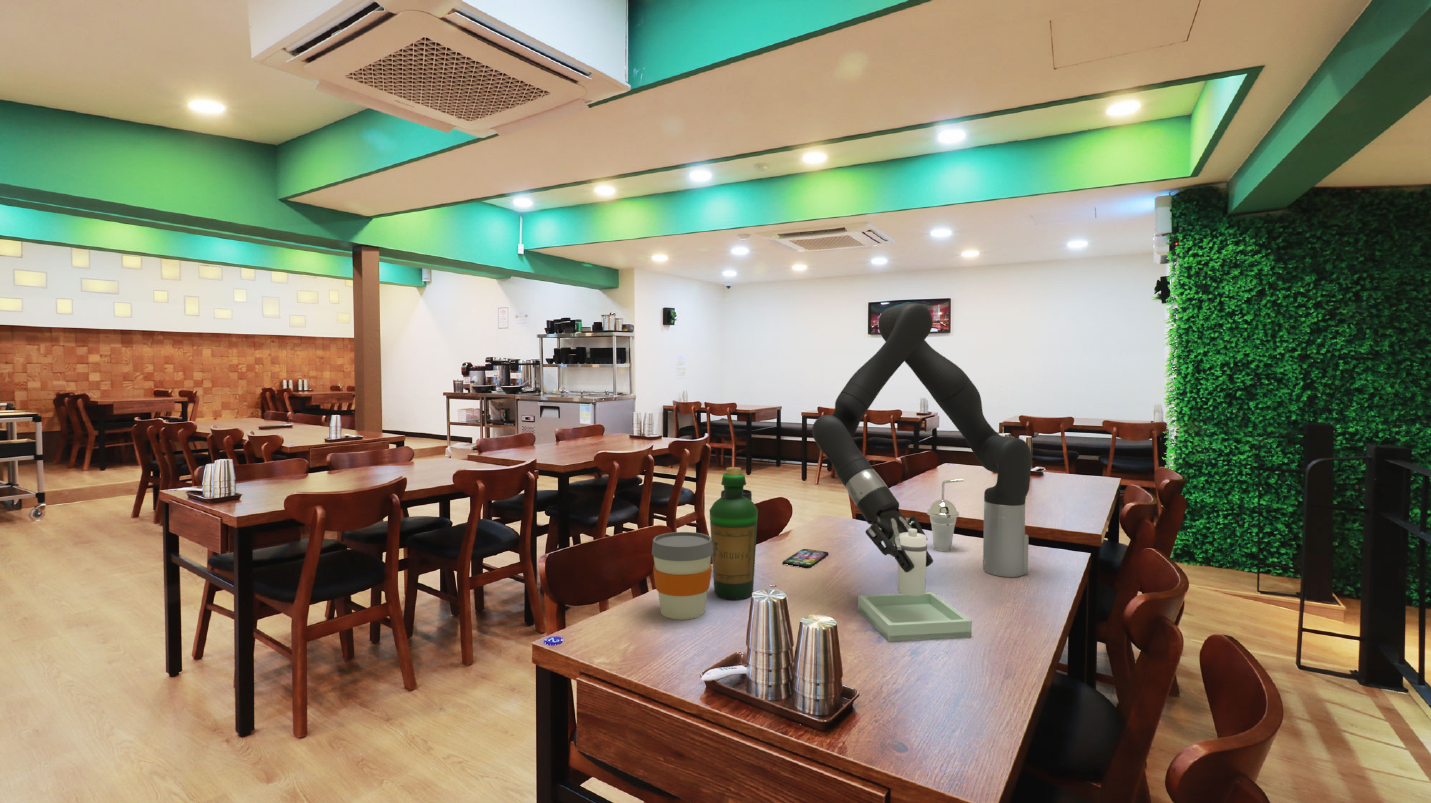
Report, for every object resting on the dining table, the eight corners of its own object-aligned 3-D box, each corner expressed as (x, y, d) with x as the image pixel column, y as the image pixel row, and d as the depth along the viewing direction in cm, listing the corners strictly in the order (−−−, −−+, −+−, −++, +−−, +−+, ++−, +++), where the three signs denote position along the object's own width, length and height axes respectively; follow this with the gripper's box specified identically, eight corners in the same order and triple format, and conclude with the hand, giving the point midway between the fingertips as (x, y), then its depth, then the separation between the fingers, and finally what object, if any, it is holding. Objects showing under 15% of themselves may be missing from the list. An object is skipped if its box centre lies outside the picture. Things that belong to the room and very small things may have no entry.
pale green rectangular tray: (932, 606, 137) (932, 592, 136) (971, 636, 121) (971, 621, 121) (858, 609, 135) (858, 595, 134) (888, 641, 119) (888, 625, 119)
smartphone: (780, 562, 166) (803, 548, 179) (780, 565, 167) (802, 551, 180) (809, 566, 163) (830, 552, 176) (809, 570, 163) (830, 555, 176)
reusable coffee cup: (706, 625, 126) (705, 548, 126) (644, 620, 129) (643, 545, 128) (718, 602, 139) (718, 533, 138) (661, 598, 141) (661, 530, 141)
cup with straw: (937, 543, 186) (938, 474, 185) (966, 550, 179) (967, 478, 178) (920, 548, 181) (921, 477, 180) (949, 555, 174) (951, 481, 173)
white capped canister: (918, 586, 130) (919, 525, 130) (930, 595, 125) (932, 532, 124) (892, 587, 130) (893, 526, 129) (903, 596, 124) (905, 533, 124)
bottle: (700, 597, 142) (700, 469, 141) (723, 583, 152) (723, 463, 150) (745, 605, 137) (745, 473, 136) (765, 590, 147) (765, 466, 145)
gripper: (859, 488, 128) (909, 563, 119) (904, 481, 137) (954, 550, 128) (838, 511, 132) (885, 584, 123) (883, 502, 141) (930, 571, 132)
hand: (919, 567), depth 126 cm, fingers closed on white capped canister, 5 cm apart
